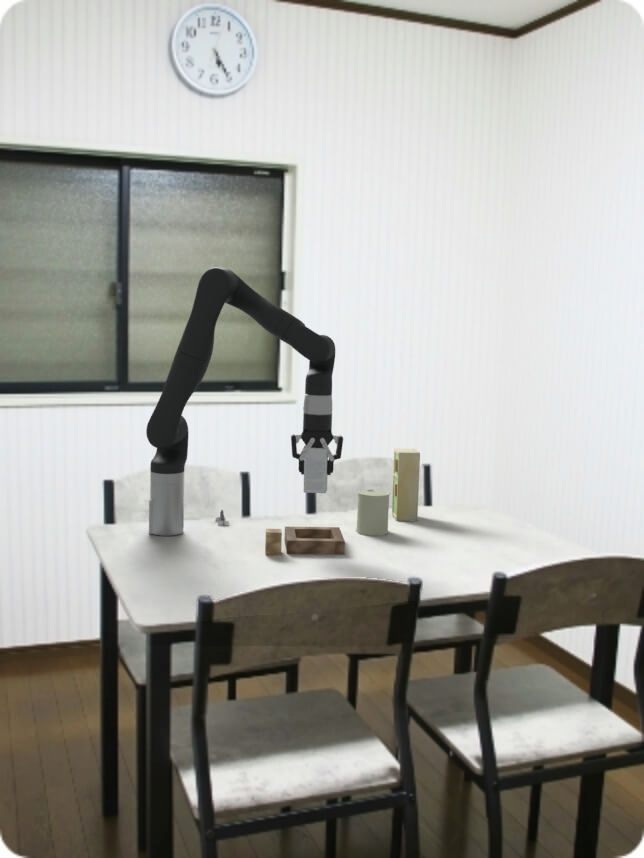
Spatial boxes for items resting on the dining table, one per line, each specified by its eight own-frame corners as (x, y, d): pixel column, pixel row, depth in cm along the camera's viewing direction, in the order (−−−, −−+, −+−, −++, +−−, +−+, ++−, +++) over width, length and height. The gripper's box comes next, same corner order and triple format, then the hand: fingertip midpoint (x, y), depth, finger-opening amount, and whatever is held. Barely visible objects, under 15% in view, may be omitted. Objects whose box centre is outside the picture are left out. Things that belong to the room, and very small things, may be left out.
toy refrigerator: (388, 514, 288) (391, 448, 285) (412, 515, 288) (415, 448, 286) (393, 520, 280) (396, 452, 277) (417, 521, 281) (420, 452, 278)
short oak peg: (265, 555, 237) (266, 532, 236) (265, 551, 241) (265, 528, 240) (281, 555, 237) (281, 532, 237) (280, 551, 241) (281, 528, 241)
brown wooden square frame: (286, 553, 239) (287, 540, 239) (284, 538, 254) (284, 526, 253) (344, 554, 240) (344, 541, 240) (338, 539, 255) (339, 527, 255)
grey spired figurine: (208, 522, 271) (208, 507, 271) (230, 521, 273) (230, 507, 273) (217, 535, 257) (218, 519, 257) (241, 534, 259) (241, 518, 259)
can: (380, 527, 271) (382, 487, 270) (393, 535, 262) (395, 493, 261) (351, 528, 268) (353, 488, 267) (362, 536, 260) (364, 494, 258)
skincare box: (327, 490, 247) (328, 446, 245) (325, 493, 243) (327, 448, 241) (304, 489, 247) (306, 445, 246) (302, 492, 243) (304, 447, 242)
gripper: (291, 412, 238) (289, 476, 240) (346, 414, 239) (344, 477, 241) (289, 409, 245) (288, 471, 247) (343, 410, 246) (341, 472, 249)
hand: (315, 474), depth 244 cm, fingers closed on skincare box, 6 cm apart
